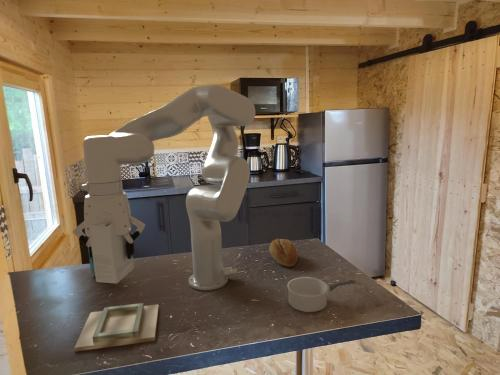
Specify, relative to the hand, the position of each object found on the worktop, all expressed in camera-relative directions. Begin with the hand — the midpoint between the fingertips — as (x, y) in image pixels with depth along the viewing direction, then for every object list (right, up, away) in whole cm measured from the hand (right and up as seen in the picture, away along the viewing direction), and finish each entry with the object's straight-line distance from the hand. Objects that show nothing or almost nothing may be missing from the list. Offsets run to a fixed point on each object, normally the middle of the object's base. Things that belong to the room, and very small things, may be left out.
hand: (112, 258), depth 84 cm
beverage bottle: (-18, -13, +35) cm, 41 cm away
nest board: (0, -19, +4) cm, 19 cm away
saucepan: (+54, -16, +14) cm, 58 cm away
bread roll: (+46, -10, +42) cm, 63 cm away
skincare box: (0, -5, +1) cm, 5 cm away
